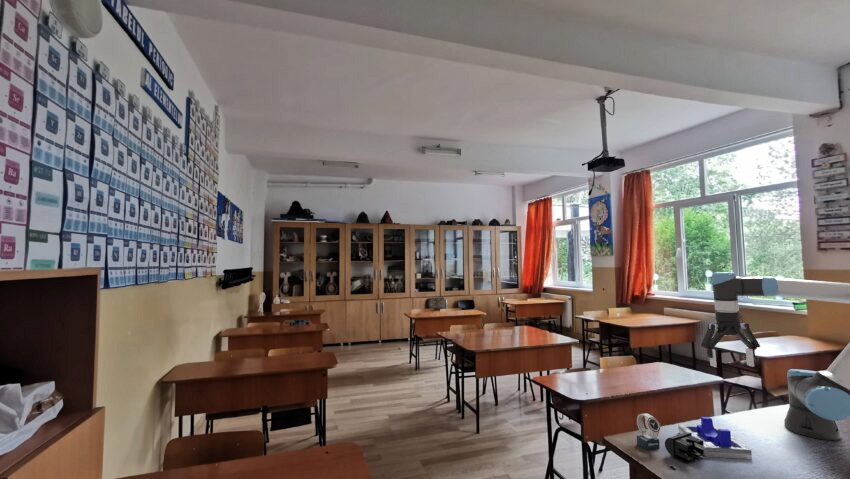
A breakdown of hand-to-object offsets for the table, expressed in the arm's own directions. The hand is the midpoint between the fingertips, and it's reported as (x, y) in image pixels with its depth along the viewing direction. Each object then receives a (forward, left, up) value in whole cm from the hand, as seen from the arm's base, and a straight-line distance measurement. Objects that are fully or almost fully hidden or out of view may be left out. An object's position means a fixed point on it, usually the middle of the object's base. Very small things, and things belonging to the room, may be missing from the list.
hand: (732, 366), depth 149 cm
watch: (+38, +17, -25) cm, 49 cm away
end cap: (+29, +23, -25) cm, 45 cm away
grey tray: (+15, +13, -25) cm, 32 cm away
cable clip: (+15, +13, -24) cm, 31 cm away
